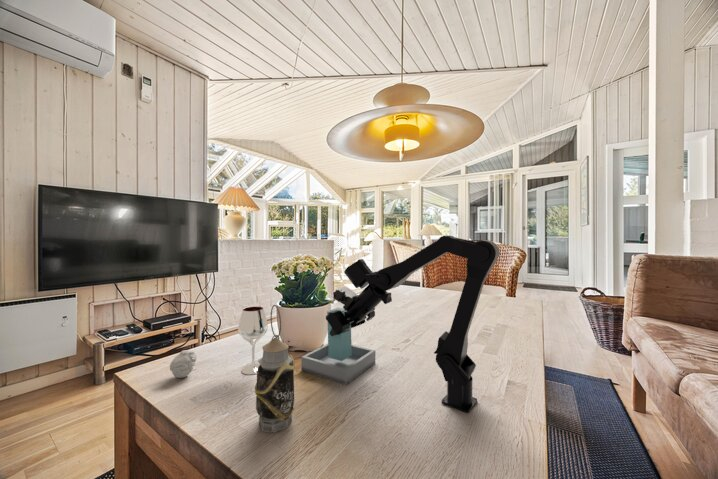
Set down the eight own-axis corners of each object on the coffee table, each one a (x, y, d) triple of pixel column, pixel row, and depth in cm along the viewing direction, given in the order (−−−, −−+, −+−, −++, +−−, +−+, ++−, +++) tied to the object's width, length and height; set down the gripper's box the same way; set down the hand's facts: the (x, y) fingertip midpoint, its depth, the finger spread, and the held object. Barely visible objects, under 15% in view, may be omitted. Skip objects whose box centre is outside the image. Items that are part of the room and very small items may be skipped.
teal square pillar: (351, 354, 90) (350, 308, 89) (342, 361, 85) (340, 312, 85) (338, 351, 92) (337, 306, 92) (328, 357, 88) (327, 310, 88)
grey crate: (346, 385, 78) (346, 370, 78) (301, 370, 86) (301, 356, 86) (375, 363, 91) (375, 350, 91) (334, 352, 100) (334, 340, 100)
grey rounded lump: (201, 372, 85) (201, 348, 85) (180, 384, 78) (180, 358, 78) (185, 369, 87) (185, 346, 87) (163, 380, 80) (163, 355, 80)
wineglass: (233, 369, 87) (233, 309, 86) (259, 361, 93) (259, 304, 92) (246, 379, 81) (246, 314, 81) (272, 369, 87) (273, 308, 87)
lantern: (300, 427, 61) (300, 307, 61) (260, 441, 57) (260, 312, 56) (286, 406, 68) (286, 299, 68) (250, 417, 64) (250, 303, 63)
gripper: (366, 275, 94) (339, 305, 100) (331, 283, 79) (300, 318, 85) (388, 302, 90) (358, 332, 96) (355, 316, 74) (322, 351, 80)
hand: (336, 332), depth 89 cm, fingers closed on teal square pillar, 5 cm apart
